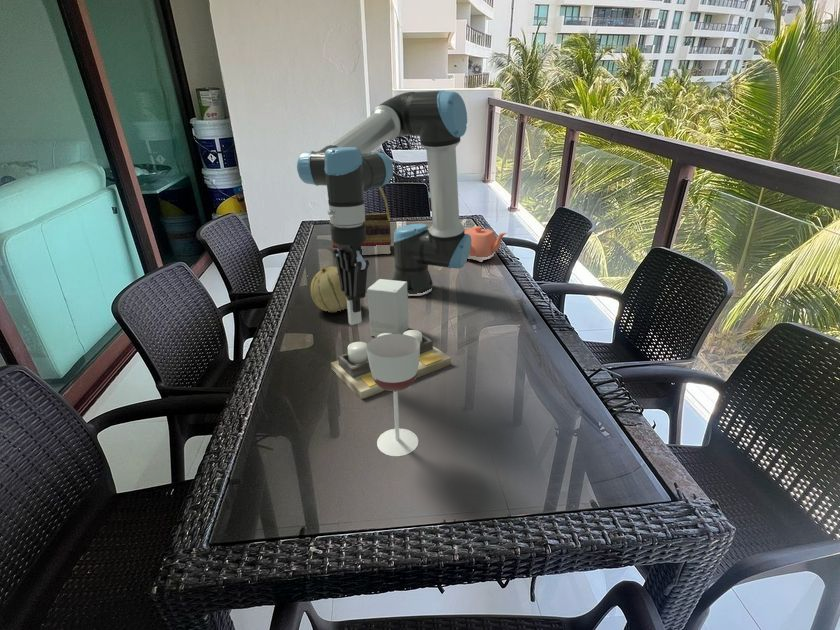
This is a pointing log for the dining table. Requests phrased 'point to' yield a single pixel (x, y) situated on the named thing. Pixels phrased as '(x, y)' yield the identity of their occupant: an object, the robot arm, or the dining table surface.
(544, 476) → the dining table surface
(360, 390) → the board
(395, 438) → the wineglass
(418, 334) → the button
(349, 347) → the button
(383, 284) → the supplement box
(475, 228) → the teapot
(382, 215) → the basket
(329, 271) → the cantaloupe
